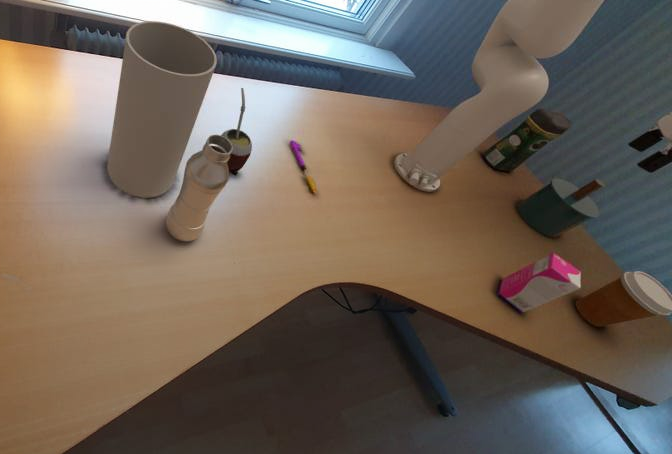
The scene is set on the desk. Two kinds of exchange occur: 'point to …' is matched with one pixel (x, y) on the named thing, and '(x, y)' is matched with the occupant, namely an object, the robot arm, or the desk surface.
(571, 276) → the supplement box
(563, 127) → the coffee jar
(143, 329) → the desk surface
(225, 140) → the plastic bottle
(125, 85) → the cylinder vase
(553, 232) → the pot
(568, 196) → the pot lid
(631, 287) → the disposable coffee cup
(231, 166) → the mate gourd
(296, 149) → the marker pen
